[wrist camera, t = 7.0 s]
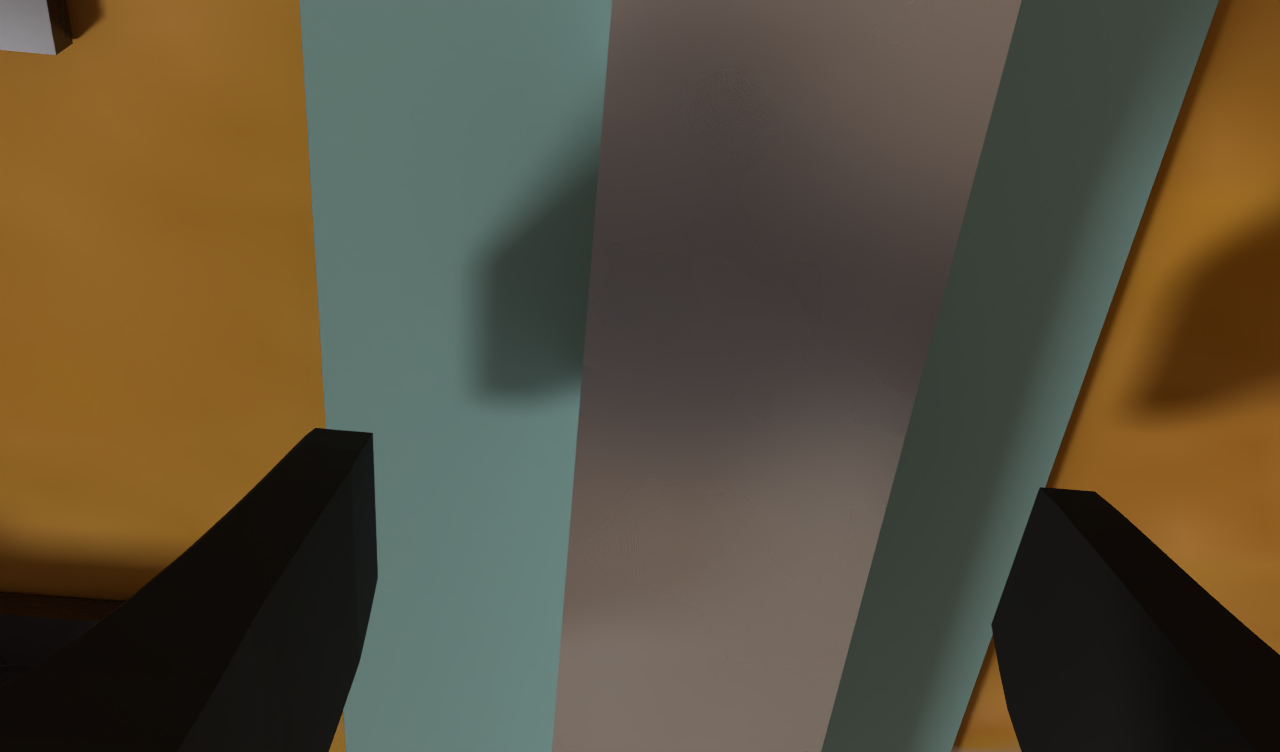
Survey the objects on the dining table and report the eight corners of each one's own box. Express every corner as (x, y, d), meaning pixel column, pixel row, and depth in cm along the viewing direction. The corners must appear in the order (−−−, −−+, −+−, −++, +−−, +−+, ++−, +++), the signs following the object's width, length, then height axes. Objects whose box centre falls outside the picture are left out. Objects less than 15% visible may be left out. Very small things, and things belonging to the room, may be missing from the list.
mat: (871, 943, 21) (874, 965, 20) (362, 910, 20) (357, 932, 20) (1450, -722, 9) (1481, -735, 9) (260, -876, 8) (243, -898, 8)
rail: (713, 884, 19) (724, 1111, 16) (544, 873, 19) (524, 1100, 16) (996, -450, 9) (1153, -490, 7) (654, -489, 9) (656, -548, 6)
